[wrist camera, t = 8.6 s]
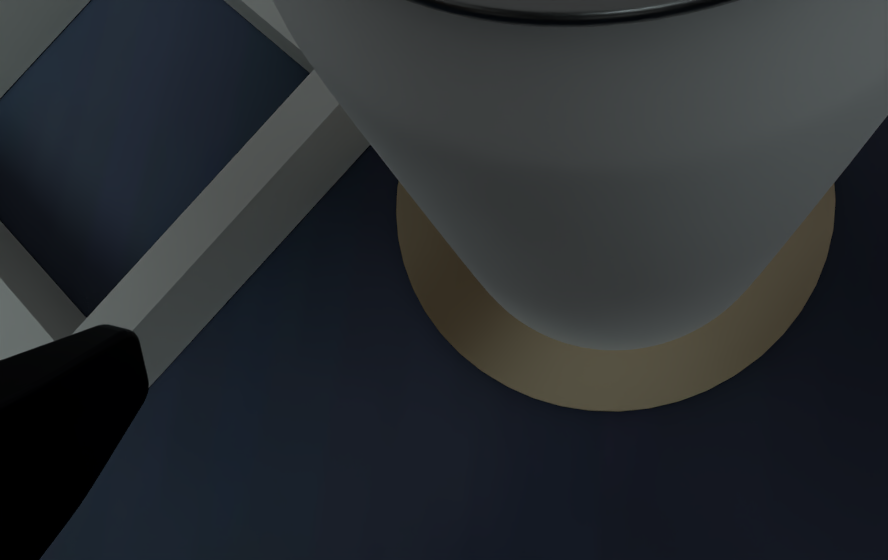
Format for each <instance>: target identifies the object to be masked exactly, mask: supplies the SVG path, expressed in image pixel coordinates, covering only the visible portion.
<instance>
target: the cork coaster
mask: <svg viewBox="0 0 888 560" xmlns="http://www.w3.org/2000/svg"><path fill="white" fill-rule="evenodd" d="M835 201H836V200H835V186H834V184H833V185H832V186H831V187H830V189H829V190H828V191H827V192H826V194H825V195H824V196H823V197H822V199H821V200H820V201H819V202H818V204H817V205H816V206H815V207H814V209H813V210H812V211H811V212H810V214H809V215H808V216H807V217H806V219H805V220H804V221H803V222H802V223H801V225H800V226H799V227H798V228H797V230H796V231H795V232H794V233H793V235H792V236H791V237H790V238H789V240H788V241H787V242H786V243H785V244H784V246H783V247H782V248H781V249H780V251H779V252H778V253H777V254H776V255H775V257H774V258H773V259H772V260H771V262H770V263H769V264H768V265H767V266H766V268H765V269H764V270H763V271H762V272H761V274H760V275H759V276H758V277H757V278H756V279H755V281H754V282H753V283H752V284H751V285H750V286H749V288H748V289H747V290H746V291H745V292H744V293H743V294H742V295H741V296H740V297H739V298H738V299H737V300H736V301H735V302H734V303H733V304H732V305H731V306H730V307H729V308H728V309H726V310H725V311H724V312H723V313H721V314H720V315H719V316H718V317H716V318H715V319H713V320H712V321H710V322H709V323H707V324H706V325H704V326H702V327H701V328H699V329H697V330H695V331H693V332H691V333H689V334H687V335H685V336H683V337H680V338H678V339H675V340H672V341H669V342H666V343H663V344H659V345H656V346H651V347H646V348H640V349H632V350H597V349H589V348H583V347H578V346H574V345H570V344H567V343H563V342H560V341H558V340H555V339H552V338H550V337H548V336H545V335H543V334H541V333H539V332H537V331H535V330H533V329H532V328H530V327H528V326H527V325H525V324H523V323H522V322H520V321H519V320H518V319H516V318H515V317H514V316H512V315H511V314H510V313H509V312H507V311H506V310H505V309H504V308H503V307H502V306H501V305H500V304H499V303H498V302H497V301H496V300H495V299H494V298H493V297H492V296H491V295H490V294H489V293H488V292H487V291H486V289H485V288H484V287H483V286H482V285H481V284H480V282H479V281H478V280H477V279H476V278H475V276H474V275H473V274H472V273H471V271H470V270H469V269H468V268H467V266H466V265H465V264H464V263H463V262H462V260H461V259H460V258H459V257H458V255H457V254H456V253H455V252H454V250H453V249H452V248H451V247H450V245H449V244H448V243H447V241H446V240H445V239H444V238H443V236H442V235H441V234H440V233H439V231H438V230H437V229H436V228H435V226H434V225H433V224H432V223H431V221H430V220H429V219H428V217H427V216H426V215H425V214H424V212H423V211H422V210H421V209H420V207H419V206H418V205H417V203H416V202H415V201H414V200H413V198H412V197H411V196H410V195H409V193H408V192H407V191H406V190H405V188H404V187H403V186H402V184H401V183H400V182H398V188H397V207H396V217H397V229H398V240H399V244H400V249H401V253H402V258H403V262H404V266H405V268H406V271H407V274H408V277H409V279H410V282H411V285H412V288H413V290H414V292H415V293H416V295H417V297H418V299H419V301H420V303H421V305H422V307H423V309H424V310H425V312H426V313H427V315H428V316H429V318H430V319H431V320H432V322H433V323H434V325H435V326H436V327H437V329H438V330H439V332H440V333H441V334H442V335H443V336H444V337H445V338H446V339H447V340H448V342H449V343H450V344H451V345H452V346H453V347H454V348H455V349H456V350H457V351H458V352H459V353H460V354H461V355H462V356H464V357H465V358H466V359H467V360H469V361H470V362H471V363H472V364H473V365H475V366H476V367H477V368H478V369H480V370H481V371H482V372H484V373H486V374H487V375H489V376H491V377H492V378H494V379H496V380H497V381H499V382H501V383H502V384H504V385H505V386H507V387H509V388H511V389H514V390H516V391H518V392H520V393H523V394H525V395H527V396H530V397H532V398H534V399H538V400H541V401H544V402H548V403H551V404H555V405H558V406H562V407H568V408H575V409H581V410H587V411H613V412H621V411H631V410H640V409H650V408H654V407H658V406H662V405H666V404H671V403H675V402H679V401H681V400H684V399H687V398H689V397H692V396H694V395H697V394H700V393H702V392H705V391H707V390H709V389H711V388H713V387H715V386H716V385H718V384H720V383H722V382H724V381H726V380H727V379H729V378H731V377H733V376H735V375H736V374H737V373H739V372H740V371H742V370H743V369H744V368H746V367H747V366H748V365H750V364H751V363H752V362H754V361H755V360H756V359H758V358H759V357H761V356H762V355H763V354H764V353H765V352H766V351H767V350H768V349H769V348H770V347H771V346H772V345H773V344H774V343H775V342H776V341H777V340H778V339H779V338H780V337H781V336H782V335H783V334H784V333H785V332H786V330H787V329H788V328H789V326H790V325H791V324H792V322H793V321H794V320H795V319H796V317H797V316H798V315H799V313H800V312H801V311H802V309H803V307H804V306H805V304H806V302H807V300H808V298H809V297H810V295H811V293H812V291H813V290H814V288H815V286H816V284H817V282H818V279H819V276H820V274H821V271H822V269H823V266H824V264H825V261H826V258H827V255H828V250H829V246H830V242H831V237H832V233H833V227H834V214H835Z"/></svg>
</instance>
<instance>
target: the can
mask: <svg viewBox="0 0 888 560" xmlns="http://www.w3.org/2000/svg"><path fill="white" fill-rule="evenodd" d="M273 2H274V4H275V6H276V8H277V9H278V11H279V13H280V15H281V17H282V19H283V21H284V22H285V24H286V26H287V28H288V30H289V32H290V34H291V35H292V37H293V39H294V40H295V42H296V44H297V45H298V47H299V48H300V50H301V51H302V53H303V54H304V55H305V57H306V58H307V60H308V61H309V63H310V64H311V65H312V67H313V68H314V70H315V71H316V73H317V74H318V75H319V77H320V78H321V80H322V81H323V83H324V84H325V85H326V87H327V88H328V90H329V91H330V92H331V94H332V95H333V96H334V97H335V99H336V100H337V101H338V103H339V104H340V105H341V107H342V108H343V109H344V111H345V112H346V113H347V115H348V116H349V117H350V119H351V120H352V121H353V122H354V124H355V125H356V126H357V128H358V129H359V130H360V132H361V133H362V134H363V136H364V137H365V138H366V139H367V141H368V142H369V143H370V145H371V146H372V147H373V148H374V150H375V151H376V152H377V154H378V155H379V156H380V157H381V159H382V160H383V161H384V163H385V164H386V165H387V166H388V168H389V169H390V170H391V172H392V173H393V174H394V175H395V177H396V178H397V179H398V181H399V182H400V183H401V184H402V186H403V187H404V188H405V190H406V191H407V192H408V193H409V195H410V196H411V197H412V198H413V200H414V201H415V202H416V203H417V205H418V206H419V207H420V209H421V210H422V211H423V212H424V214H425V215H426V216H427V217H428V219H429V220H430V221H431V223H432V224H433V225H434V226H435V228H436V229H437V230H438V231H439V233H440V234H441V235H442V236H443V238H444V239H445V240H446V241H447V243H448V244H449V245H450V247H451V248H452V249H453V250H454V252H455V253H456V254H457V255H458V257H459V258H460V259H461V260H462V262H463V263H464V264H465V265H466V266H467V268H468V269H469V270H470V271H471V273H472V274H473V275H474V276H475V278H476V279H477V280H478V281H479V282H480V284H481V285H482V286H483V287H484V288H485V289H486V291H487V292H488V293H489V294H490V295H491V296H492V297H493V298H494V299H495V300H496V301H497V302H498V303H499V304H500V305H501V306H502V307H503V308H504V309H505V310H506V311H507V312H509V313H510V314H511V315H512V316H514V317H515V318H516V319H518V320H519V321H520V322H522V323H523V324H525V325H527V326H528V327H530V328H532V329H533V330H535V331H537V332H539V333H541V334H543V335H545V336H548V337H550V338H552V339H555V340H558V341H560V342H563V343H567V344H570V345H574V346H578V347H583V348H589V349H597V350H632V349H640V348H646V347H651V346H656V345H659V344H663V343H666V342H669V341H672V340H675V339H678V338H680V337H683V336H685V335H687V334H689V333H691V332H693V331H695V330H697V329H699V328H701V327H702V326H704V325H706V324H707V323H709V322H710V321H712V320H713V319H715V318H716V317H718V316H719V315H720V314H721V313H723V312H724V311H725V310H726V309H728V308H729V307H730V306H731V305H732V304H733V303H734V302H735V301H736V300H737V299H738V298H739V297H740V296H741V295H742V294H743V293H744V292H745V291H746V290H747V289H748V288H749V286H750V285H751V284H752V283H753V282H754V281H755V279H756V278H757V277H758V276H759V275H760V274H761V272H762V271H763V270H764V269H765V268H766V266H767V265H768V264H769V263H770V262H771V260H772V259H773V258H774V257H775V255H776V254H777V253H778V252H779V251H780V249H781V248H782V247H783V246H784V244H785V243H786V242H787V241H788V240H789V238H790V237H791V236H792V235H793V233H794V232H795V231H796V230H797V228H798V227H799V226H800V225H801V223H802V222H803V221H804V220H805V219H806V217H807V216H808V215H809V214H810V212H811V211H812V210H813V209H814V207H815V206H816V205H817V204H818V202H819V201H820V200H821V199H822V197H823V196H824V195H825V194H826V192H827V191H828V190H829V189H830V187H831V186H832V185H833V184H834V182H835V181H836V180H837V179H838V177H839V176H840V175H841V174H842V172H843V171H844V170H845V169H846V167H847V166H848V165H849V164H850V162H851V161H852V160H853V159H854V157H855V156H856V155H857V153H858V152H859V151H860V150H861V148H862V147H863V146H864V145H865V143H866V142H867V141H868V140H869V138H870V137H871V136H872V135H873V133H874V132H875V131H876V129H877V128H878V127H879V126H880V124H881V123H882V122H883V121H884V119H885V118H886V117H887V116H888V0H273Z"/></svg>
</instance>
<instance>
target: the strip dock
mask: <svg viewBox="0 0 888 560" xmlns="http://www.w3.org/2000/svg"><path fill="white" fill-rule="evenodd" d="M89 1H90V0H0V98H1V97H2V96H3V95H4V94H5V93H6V91H7V90H8V89H9V88H10V87H11V86H12V85H13V84H14V83H15V82H16V81H17V80H18V78H19V77H20V76H21V75H22V74H23V73H24V72H25V71H26V70H27V69H28V68H29V67H30V65H31V64H32V63H33V62H34V61H35V60H36V59H37V58H38V57H39V56H40V55H41V53H42V52H43V51H44V50H45V49H46V48H47V47H48V46H49V45H50V44H51V43H52V42H53V40H54V39H55V38H56V37H57V36H58V35H59V34H60V33H61V32H62V31H63V30H64V29H65V27H66V26H67V25H68V24H69V23H70V22H71V21H72V20H73V19H74V18H75V17H76V16H77V14H78V13H79V12H80V11H81V10H82V9H83V8H84V7H85V6H86V5H87V4H88V2H89ZM224 1H225V2H226V3H227V4H229V5H230V6H231V7H232V8H233V9H235V10H236V11H237V12H238V13H239V14H240V15H242V16H243V17H244V18H245V19H246V20H248V21H249V22H250V23H251V24H252V25H254V26H255V27H256V28H257V29H258V30H259V31H261V32H262V33H263V34H264V35H265V36H267V37H268V38H269V39H270V40H271V41H272V42H274V43H275V44H276V45H277V46H278V47H280V48H281V49H282V50H283V51H284V52H285V53H287V54H288V55H289V56H290V57H291V58H293V59H294V60H295V61H296V62H297V63H298V64H300V65H301V66H302V67H303V68H304V69H306V70H307V71H308V72H309V73H310V74H309V75H308V76H307V77H306V79H305V80H304V81H303V82H302V83H301V84H300V85H299V86H298V87H297V88H296V89H295V91H294V92H293V93H292V94H291V95H290V96H289V97H288V98H287V99H286V100H285V102H284V103H283V104H282V105H281V106H280V107H279V108H278V109H277V110H276V111H275V112H274V114H273V115H272V116H271V117H270V118H269V119H268V120H267V121H266V122H265V123H264V125H263V126H262V127H261V128H260V129H259V130H258V131H257V132H256V133H255V134H254V135H253V137H252V138H251V139H250V140H249V141H248V142H247V143H246V144H245V145H244V146H243V148H242V149H241V150H240V151H239V152H238V153H237V154H236V155H235V156H234V157H233V158H232V160H231V161H230V162H229V163H228V164H227V165H226V166H225V167H224V168H223V169H222V171H221V172H220V173H219V174H218V175H217V176H216V177H215V178H214V179H213V180H212V181H211V183H210V184H209V185H208V186H207V187H206V188H205V189H204V190H203V191H202V192H201V194H200V195H199V196H198V197H197V198H196V199H195V200H194V201H193V202H192V203H191V204H190V206H189V207H188V208H187V209H186V210H185V211H184V212H183V213H182V214H181V215H180V216H179V218H178V219H177V220H176V221H175V222H174V223H173V224H172V225H171V226H170V227H169V229H168V230H167V231H166V232H165V233H164V234H163V235H162V236H161V237H160V238H159V239H158V241H157V242H156V243H155V244H154V245H153V246H152V247H151V248H150V249H149V250H148V252H147V253H146V254H145V255H144V256H143V257H142V258H141V259H140V260H139V261H138V262H137V264H136V265H135V266H134V267H133V268H132V269H131V270H130V271H129V272H128V273H127V275H126V276H125V277H124V278H123V279H122V280H121V281H120V282H119V283H118V284H117V285H116V287H115V288H114V289H113V290H112V291H111V292H110V293H109V294H108V295H107V296H106V298H105V299H104V300H103V301H102V302H101V303H100V304H99V305H98V306H97V307H96V308H95V310H94V311H93V312H92V313H91V314H90V315H89V316H88V317H87V318H86V317H85V316H84V315H83V314H82V312H81V311H80V310H79V309H78V308H77V307H76V306H75V305H74V303H73V302H72V301H71V300H70V299H69V298H68V297H67V296H66V294H65V293H64V292H63V291H62V290H61V289H60V288H59V287H58V285H57V284H56V283H55V282H54V281H53V280H52V279H51V278H50V276H49V275H48V274H47V273H46V272H45V271H44V270H43V268H42V267H41V266H40V265H39V264H38V263H37V262H36V261H35V259H34V258H33V257H32V256H31V255H30V254H29V253H28V252H27V250H26V249H25V248H24V247H23V246H22V245H21V244H20V243H19V241H18V240H17V239H16V238H15V237H14V236H13V235H12V234H11V232H10V231H9V230H8V229H7V228H6V227H5V226H4V224H3V223H2V222H1V221H0V360H2V359H5V358H8V357H11V356H14V355H16V354H19V353H22V352H25V351H28V350H30V349H33V348H36V347H39V346H41V345H44V344H47V343H50V342H53V341H55V340H58V339H61V338H64V337H67V336H69V335H72V334H75V333H78V332H80V331H83V330H86V329H89V328H92V327H94V326H97V325H101V324H109V325H113V326H117V327H121V328H125V329H129V330H131V331H133V332H135V334H136V335H137V336H138V338H139V341H140V345H141V349H142V354H143V358H144V362H145V367H146V371H147V375H148V381H149V387H150V386H151V385H152V384H153V383H154V382H155V381H156V379H157V378H158V377H159V376H160V375H161V374H162V373H163V372H164V371H165V370H166V369H167V367H168V366H169V365H170V364H171V363H172V362H173V361H174V360H175V359H176V358H177V356H178V355H179V354H180V353H181V352H182V351H183V350H184V349H185V348H186V347H187V345H188V344H189V343H190V342H191V341H192V340H193V339H194V338H195V337H196V336H197V334H198V333H199V332H200V331H201V330H202V329H203V328H204V327H205V326H206V325H207V323H208V322H209V321H210V320H211V319H212V318H213V317H214V316H215V315H216V314H217V312H218V311H219V310H220V309H221V308H222V307H223V306H224V305H225V304H226V303H227V301H228V300H229V299H230V298H231V297H232V296H233V295H234V294H235V293H236V292H237V290H238V289H239V288H240V287H241V286H242V285H243V284H244V283H245V282H246V281H247V279H248V278H249V277H250V276H251V275H252V274H253V273H254V272H255V271H256V270H257V268H258V267H259V266H260V265H261V264H262V263H263V262H264V261H265V260H266V259H267V257H268V256H269V255H270V254H271V253H272V252H273V251H274V250H275V249H276V248H277V246H278V245H279V244H280V243H281V242H282V241H283V240H284V239H285V238H286V237H287V236H288V234H289V233H290V232H291V231H292V230H293V229H294V228H295V227H296V226H297V225H298V223H299V222H300V221H301V220H302V219H303V218H304V217H305V216H306V215H307V214H308V212H309V211H310V210H311V209H312V208H313V207H314V206H315V205H316V204H317V203H318V201H319V200H320V199H321V198H322V197H323V196H324V195H325V194H326V193H327V192H328V190H329V189H330V188H331V187H332V186H333V185H334V184H335V183H336V182H337V181H338V179H339V178H340V177H341V176H342V175H343V174H344V173H345V172H346V171H347V170H348V168H349V167H350V166H351V165H352V164H353V163H354V162H355V161H356V160H357V159H358V157H359V156H360V155H361V154H362V153H363V152H364V151H365V150H366V149H367V148H368V146H369V145H370V143H369V142H368V141H367V139H366V138H365V137H364V136H363V134H362V133H361V132H360V130H359V129H358V128H357V126H356V125H355V124H354V122H353V121H352V120H351V119H350V117H349V116H348V115H347V113H346V112H345V111H344V109H343V108H342V107H341V105H340V104H339V103H338V101H337V100H336V99H335V97H334V96H333V95H332V94H331V92H330V91H329V90H328V88H327V87H326V85H325V84H324V83H323V81H322V80H321V78H320V77H319V75H318V74H317V73H316V71H315V70H314V68H313V67H312V65H311V64H310V63H309V61H308V60H307V58H306V57H305V55H304V54H303V53H302V51H301V50H300V48H299V47H298V45H297V44H296V42H295V40H294V39H293V37H292V35H291V34H290V32H289V30H288V28H287V26H286V24H285V22H284V21H283V19H282V17H281V15H280V13H279V11H278V9H277V8H276V6H275V4H274V2H273V0H224Z"/></svg>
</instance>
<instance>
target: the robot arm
mask: <svg viewBox="0 0 888 560" xmlns="http://www.w3.org/2000/svg"><path fill="white" fill-rule="evenodd" d="M148 388H149V381H148V375H147V371H146V367H145V362H144V358H143V354H142V349H141V345H140V341H139V338H138V336H137V335H136V334H135V332H133V331H131V330H129V329H125V328H121V327H117V326H113V325H109V324H101V325H97V326H94V327H92V328H89V329H86V330H83V331H80V332H78V333H75V334H72V335H69V336H67V337H64V338H61V339H58V340H55V341H53V342H50V343H47V344H44V345H41V346H39V347H36V348H33V349H30V350H28V351H25V352H22V353H19V354H16V355H14V356H11V357H8V358H5V359H2V360H0V560H39V559H40V558H41V557H42V555H43V554H44V553H45V551H46V550H47V549H48V547H49V546H50V545H51V543H52V542H53V541H54V539H55V538H56V537H57V535H58V534H59V533H60V532H61V530H62V529H63V528H64V526H65V525H66V524H67V522H68V521H69V520H70V518H71V517H72V515H73V514H74V513H75V511H76V510H77V508H78V507H79V506H80V504H81V503H82V501H83V500H84V498H85V497H86V495H87V494H88V492H89V491H90V489H91V488H92V486H93V484H94V483H95V481H96V480H97V478H98V476H99V475H100V473H101V471H102V470H103V468H104V466H105V465H106V463H107V462H108V460H109V458H110V457H111V455H112V453H113V452H114V450H115V449H116V447H117V445H118V444H119V442H120V440H121V439H122V437H123V435H124V434H125V432H126V431H127V429H128V427H129V426H130V424H131V422H132V421H133V419H134V418H135V416H136V414H137V413H138V411H139V409H140V408H141V406H142V405H143V403H144V401H145V399H146V396H147V393H148Z"/></svg>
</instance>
